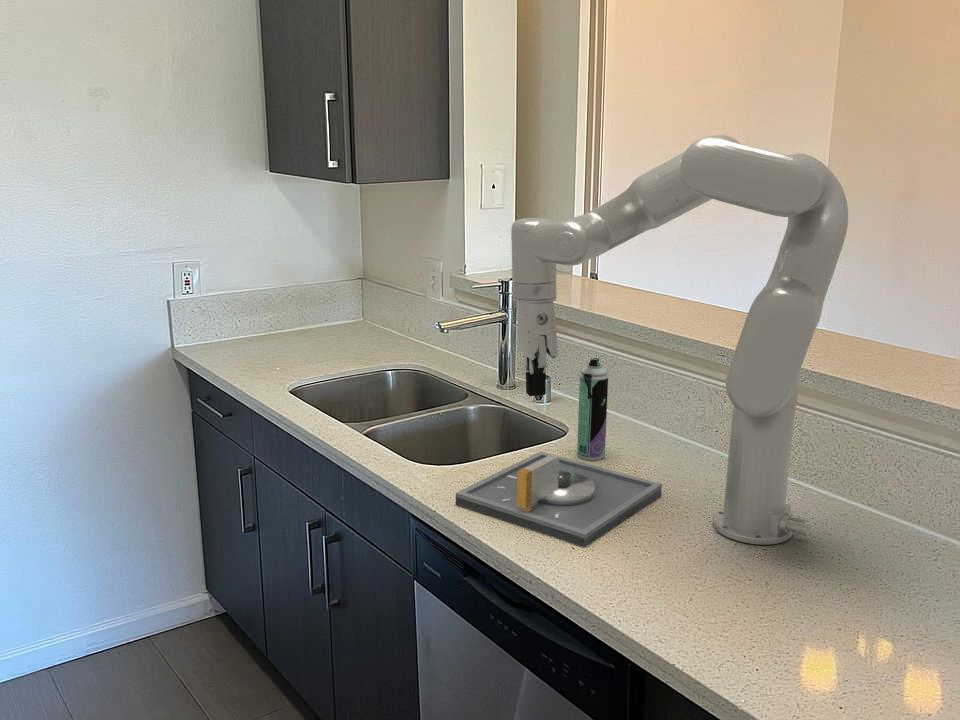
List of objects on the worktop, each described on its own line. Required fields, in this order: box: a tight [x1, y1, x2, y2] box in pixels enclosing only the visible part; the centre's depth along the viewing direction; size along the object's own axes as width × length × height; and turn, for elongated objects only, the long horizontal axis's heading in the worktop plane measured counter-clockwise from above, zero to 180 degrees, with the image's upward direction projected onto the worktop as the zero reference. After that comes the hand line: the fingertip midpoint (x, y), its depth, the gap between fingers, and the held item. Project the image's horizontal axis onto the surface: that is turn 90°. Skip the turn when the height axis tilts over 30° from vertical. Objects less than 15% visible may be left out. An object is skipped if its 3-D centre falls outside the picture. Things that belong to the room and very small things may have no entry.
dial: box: [517, 453, 595, 508], centre depth 157 cm, size 18×12×8 cm, turn 143°
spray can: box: [576, 357, 609, 462], centre depth 180 cm, size 6×6×20 cm
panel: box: [455, 451, 663, 548], centre depth 161 cm, size 26×26×2 cm
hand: (536, 394), depth 161 cm, fingers closed
